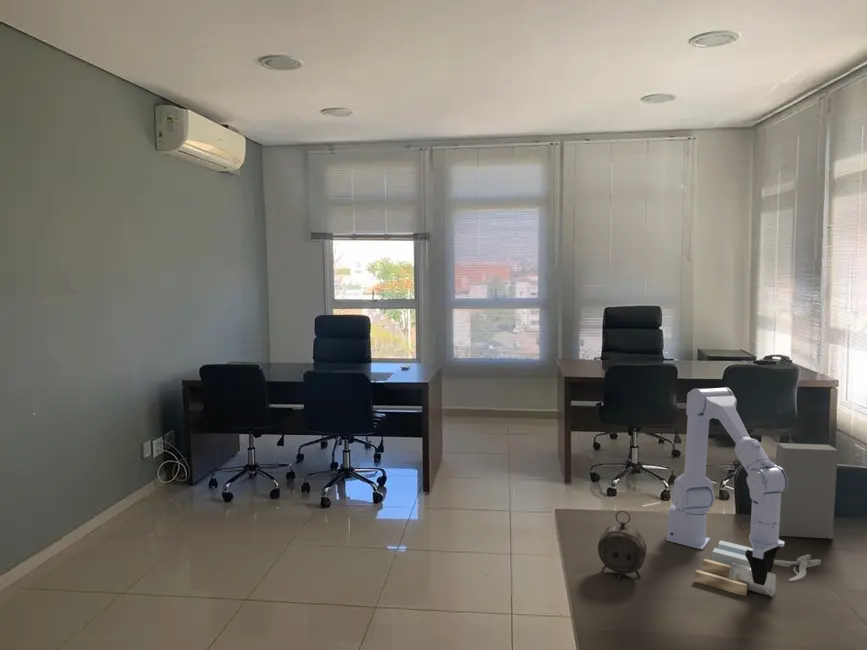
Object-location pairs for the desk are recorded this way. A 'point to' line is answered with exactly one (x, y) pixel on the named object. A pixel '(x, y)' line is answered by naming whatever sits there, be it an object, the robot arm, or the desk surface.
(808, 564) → the pliers
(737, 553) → the v block
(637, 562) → the alarm clock
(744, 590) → the wooden rails
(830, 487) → the tall grey box
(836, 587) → the desk surface
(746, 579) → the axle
